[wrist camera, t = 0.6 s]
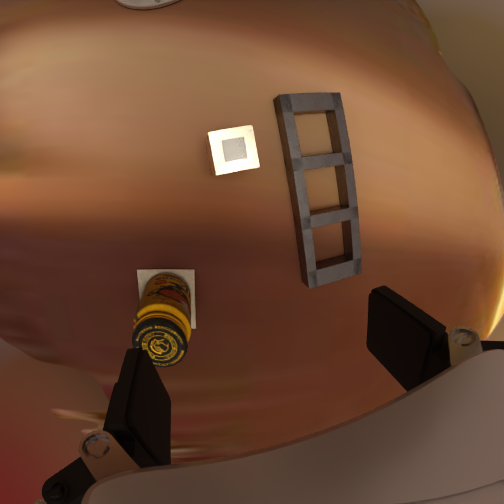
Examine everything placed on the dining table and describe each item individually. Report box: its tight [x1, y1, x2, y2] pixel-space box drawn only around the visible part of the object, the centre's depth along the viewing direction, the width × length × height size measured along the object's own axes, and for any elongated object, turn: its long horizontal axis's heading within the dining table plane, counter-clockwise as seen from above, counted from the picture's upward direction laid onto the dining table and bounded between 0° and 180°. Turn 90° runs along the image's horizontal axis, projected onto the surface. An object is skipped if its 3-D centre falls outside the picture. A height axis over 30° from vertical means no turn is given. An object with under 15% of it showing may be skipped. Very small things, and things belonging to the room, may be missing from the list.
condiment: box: [132, 269, 196, 367], centre depth 29 cm, size 7×8×12 cm
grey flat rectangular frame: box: [273, 93, 362, 289], centre depth 33 cm, size 24×8×2 cm, turn 10°
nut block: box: [205, 125, 260, 175], centre depth 27 cm, size 4×4×8 cm
